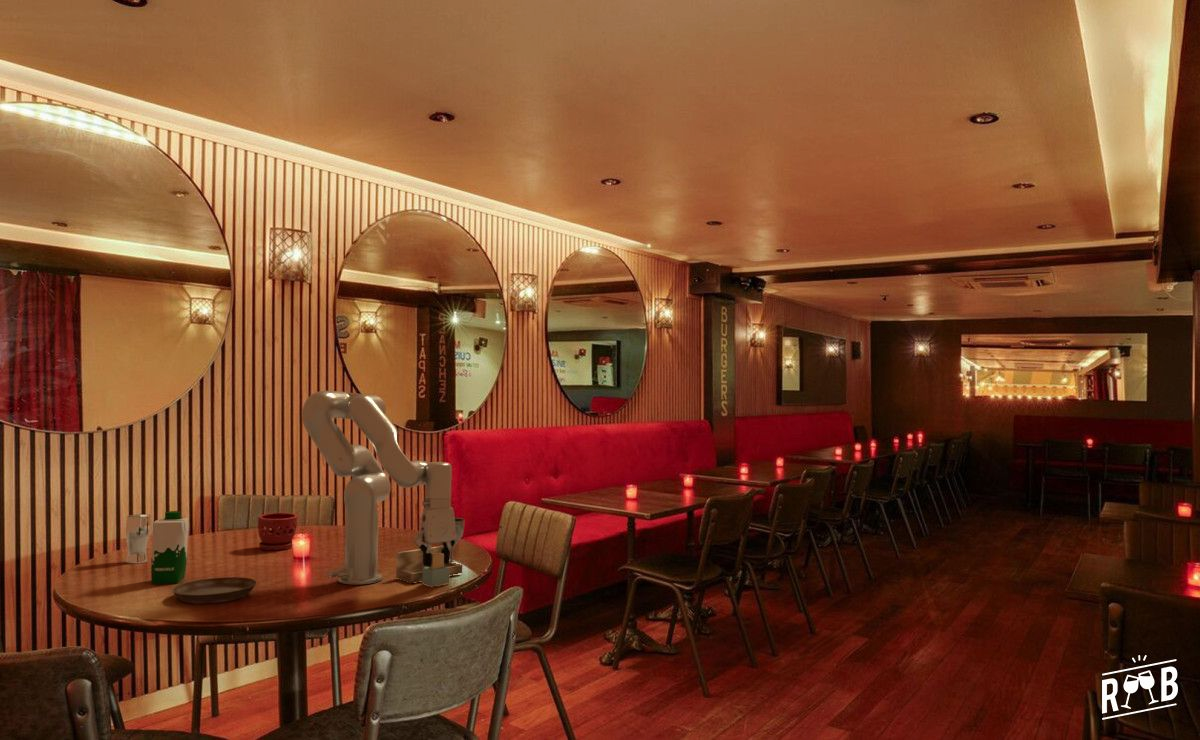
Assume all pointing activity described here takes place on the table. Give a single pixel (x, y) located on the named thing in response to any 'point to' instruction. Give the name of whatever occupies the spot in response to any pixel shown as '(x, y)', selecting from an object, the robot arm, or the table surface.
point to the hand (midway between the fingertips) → (436, 563)
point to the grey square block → (436, 571)
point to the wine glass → (459, 530)
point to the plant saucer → (214, 590)
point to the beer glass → (137, 538)
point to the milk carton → (169, 549)
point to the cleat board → (418, 565)
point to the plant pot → (276, 530)
